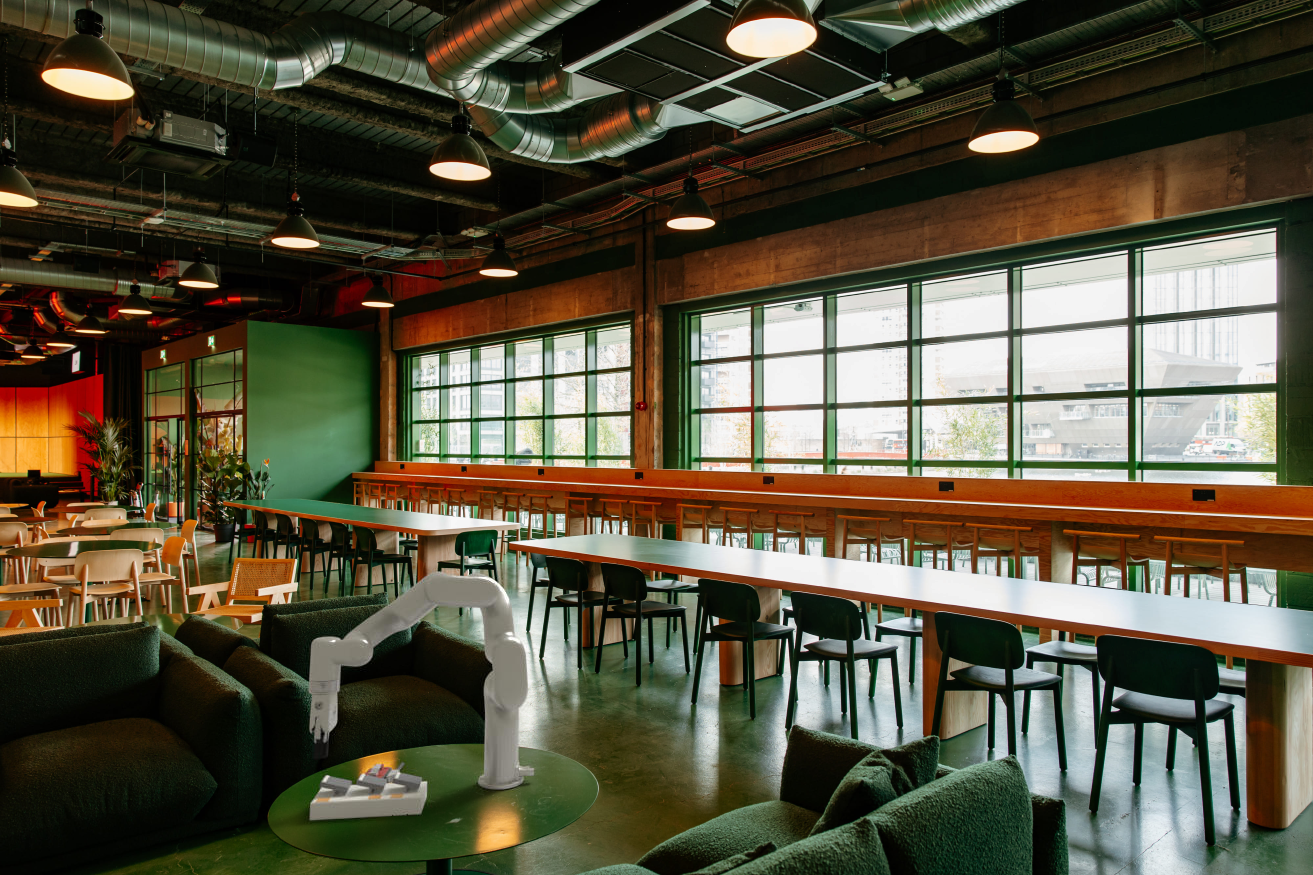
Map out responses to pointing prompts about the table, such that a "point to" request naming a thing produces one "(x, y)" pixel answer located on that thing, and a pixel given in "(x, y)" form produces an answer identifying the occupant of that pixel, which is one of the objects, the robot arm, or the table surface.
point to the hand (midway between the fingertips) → (320, 757)
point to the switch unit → (368, 802)
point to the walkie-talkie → (383, 772)
